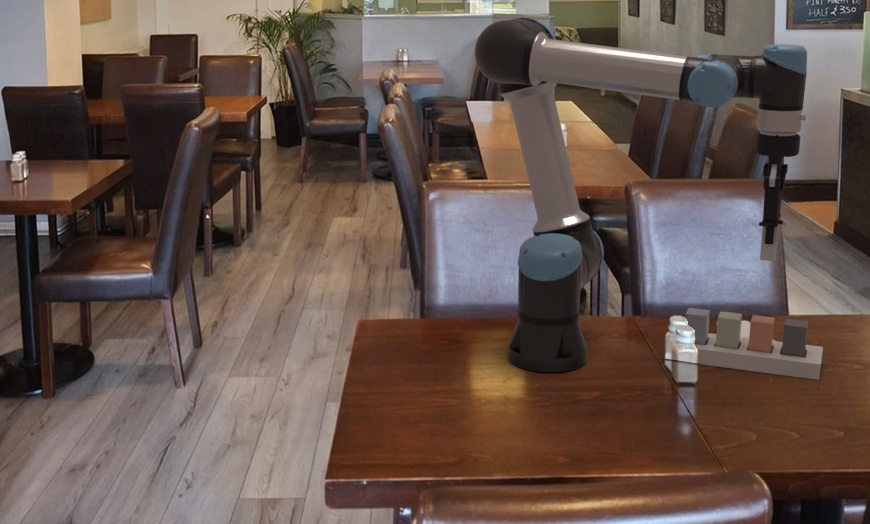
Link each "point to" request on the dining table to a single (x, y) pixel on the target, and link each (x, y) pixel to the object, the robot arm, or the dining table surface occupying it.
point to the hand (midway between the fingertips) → (768, 259)
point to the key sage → (728, 330)
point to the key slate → (699, 324)
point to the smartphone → (745, 329)
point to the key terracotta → (761, 334)
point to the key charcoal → (794, 337)
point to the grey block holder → (761, 359)
